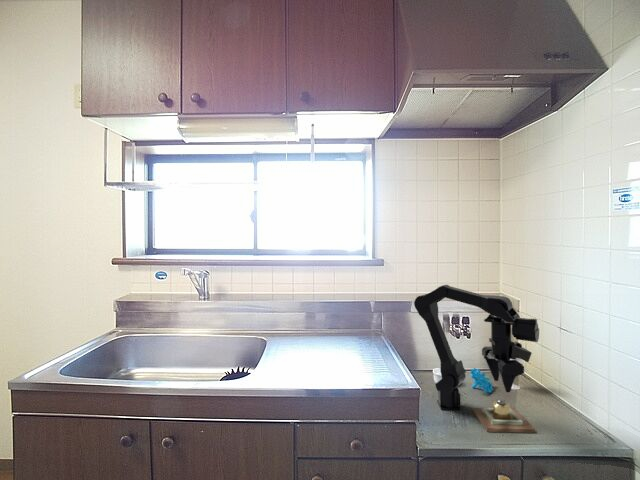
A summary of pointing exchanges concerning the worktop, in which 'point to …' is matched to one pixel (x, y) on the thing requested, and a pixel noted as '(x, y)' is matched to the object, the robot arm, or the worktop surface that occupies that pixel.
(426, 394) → the worktop surface
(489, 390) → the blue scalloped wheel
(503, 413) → the tan two-tone cylinder
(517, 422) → the carrier board
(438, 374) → the ramekin
